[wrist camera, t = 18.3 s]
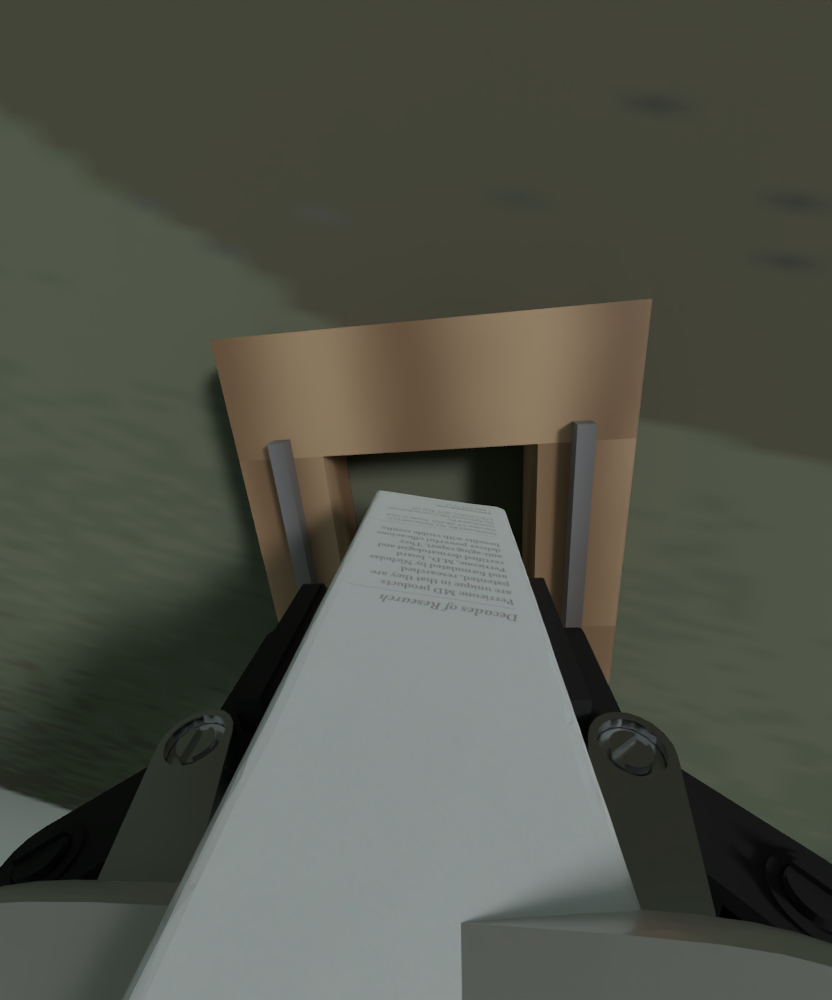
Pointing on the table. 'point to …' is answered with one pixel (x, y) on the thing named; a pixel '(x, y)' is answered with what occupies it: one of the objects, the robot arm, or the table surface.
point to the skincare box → (396, 784)
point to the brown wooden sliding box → (448, 435)
